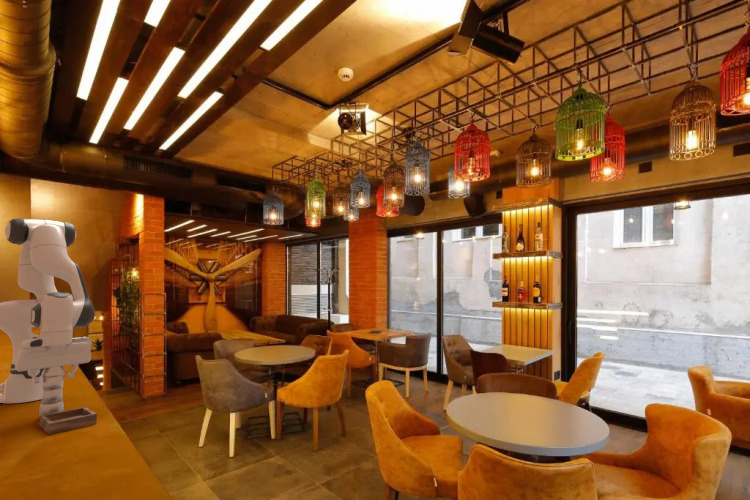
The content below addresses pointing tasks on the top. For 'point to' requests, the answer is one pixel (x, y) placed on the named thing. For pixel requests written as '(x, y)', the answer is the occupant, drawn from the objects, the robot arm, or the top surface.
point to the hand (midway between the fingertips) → (53, 380)
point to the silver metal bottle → (52, 390)
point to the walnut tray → (67, 420)
